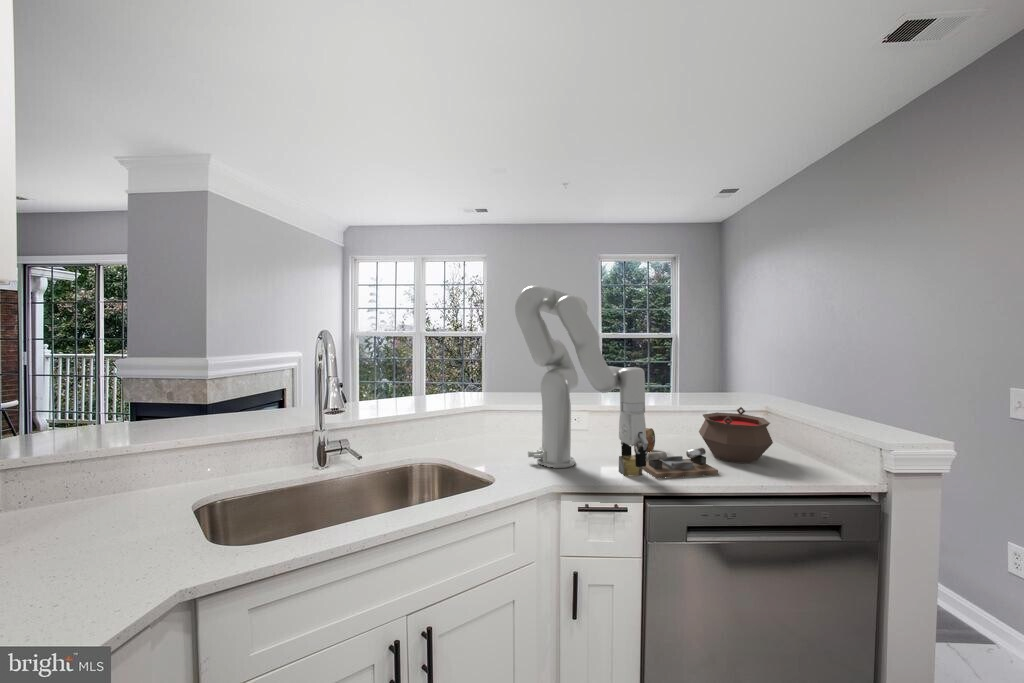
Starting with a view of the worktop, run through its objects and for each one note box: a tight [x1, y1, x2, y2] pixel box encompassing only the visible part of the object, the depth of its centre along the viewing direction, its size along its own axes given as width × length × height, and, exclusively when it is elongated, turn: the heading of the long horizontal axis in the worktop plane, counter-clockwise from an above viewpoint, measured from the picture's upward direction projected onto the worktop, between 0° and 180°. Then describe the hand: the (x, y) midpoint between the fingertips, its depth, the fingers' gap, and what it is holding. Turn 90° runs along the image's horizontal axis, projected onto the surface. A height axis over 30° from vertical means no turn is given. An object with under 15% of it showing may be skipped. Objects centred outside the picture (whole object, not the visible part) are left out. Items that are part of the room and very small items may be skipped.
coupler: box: [618, 454, 643, 477], centre depth 142 cm, size 6×4×5 cm, turn 101°
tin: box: [633, 427, 656, 454], centre depth 164 cm, size 15×3×8 cm, turn 143°
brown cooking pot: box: [698, 406, 774, 464], centre depth 160 cm, size 24×24×16 cm
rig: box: [642, 451, 719, 479], centre depth 145 cm, size 21×12×6 cm, turn 101°
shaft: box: [686, 447, 707, 465], centre depth 147 cm, size 6×4×5 cm, turn 121°
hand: (633, 461), depth 142 cm, fingers open, 9 cm apart
